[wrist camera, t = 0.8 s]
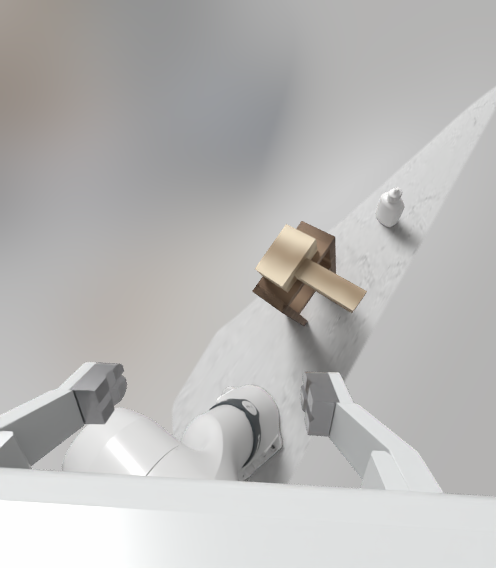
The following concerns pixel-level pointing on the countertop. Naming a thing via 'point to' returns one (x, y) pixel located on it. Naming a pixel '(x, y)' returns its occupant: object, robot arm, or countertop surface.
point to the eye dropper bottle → (390, 207)
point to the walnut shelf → (299, 292)
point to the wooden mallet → (305, 269)
